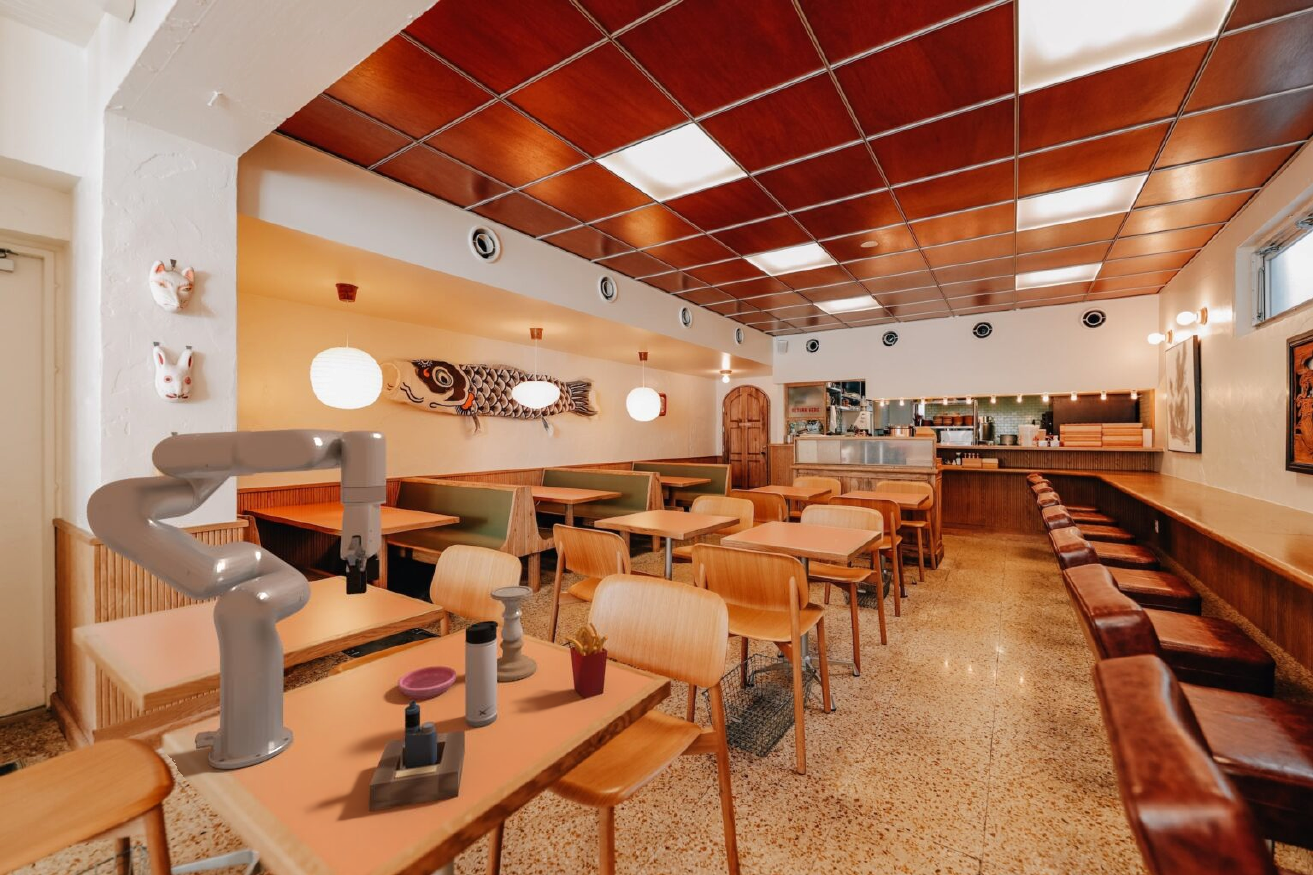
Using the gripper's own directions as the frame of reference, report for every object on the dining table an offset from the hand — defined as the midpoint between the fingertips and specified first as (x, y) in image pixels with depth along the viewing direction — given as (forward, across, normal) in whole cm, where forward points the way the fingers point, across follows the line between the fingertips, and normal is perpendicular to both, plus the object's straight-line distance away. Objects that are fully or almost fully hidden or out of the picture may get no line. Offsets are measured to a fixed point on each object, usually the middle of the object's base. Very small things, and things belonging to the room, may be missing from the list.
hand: (363, 586), depth 101 cm
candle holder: (+31, -28, +27) cm, 49 cm away
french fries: (+31, -12, +43) cm, 54 cm away
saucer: (+31, -23, +8) cm, 39 cm away
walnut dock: (+30, +13, +12) cm, 35 cm away
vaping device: (+30, +13, +12) cm, 34 cm away
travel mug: (+31, -5, +21) cm, 37 cm away
